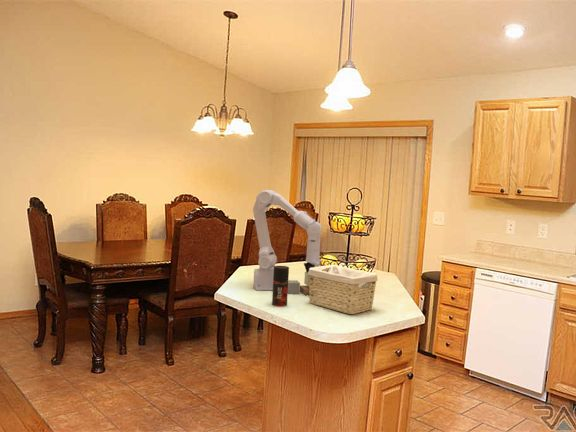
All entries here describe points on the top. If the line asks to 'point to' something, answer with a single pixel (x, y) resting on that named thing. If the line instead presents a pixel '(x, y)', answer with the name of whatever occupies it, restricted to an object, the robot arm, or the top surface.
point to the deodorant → (280, 286)
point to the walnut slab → (305, 290)
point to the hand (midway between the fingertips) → (311, 280)
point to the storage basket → (342, 288)
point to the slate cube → (293, 287)
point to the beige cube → (306, 279)
